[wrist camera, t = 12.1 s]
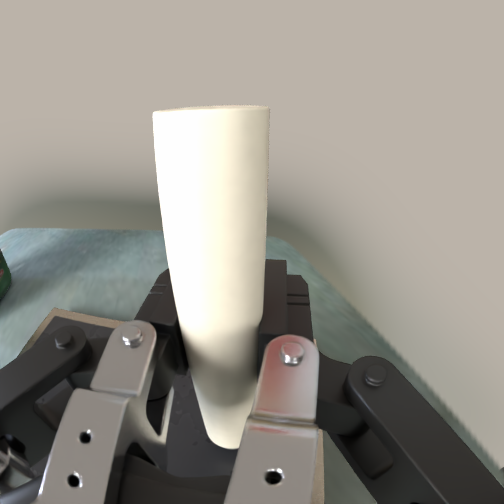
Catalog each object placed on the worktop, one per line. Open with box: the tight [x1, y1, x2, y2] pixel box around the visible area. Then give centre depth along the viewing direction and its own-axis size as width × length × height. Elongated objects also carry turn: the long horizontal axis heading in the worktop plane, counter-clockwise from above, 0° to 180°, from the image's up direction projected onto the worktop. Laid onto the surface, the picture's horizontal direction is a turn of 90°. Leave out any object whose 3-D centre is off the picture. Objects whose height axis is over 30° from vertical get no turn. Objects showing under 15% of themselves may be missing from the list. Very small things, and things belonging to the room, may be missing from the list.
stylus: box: [153, 105, 270, 450], centre depth 8 cm, size 2×2×13 cm
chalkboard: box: [17, 308, 324, 504], centre depth 12 cm, size 20×14×1 cm
